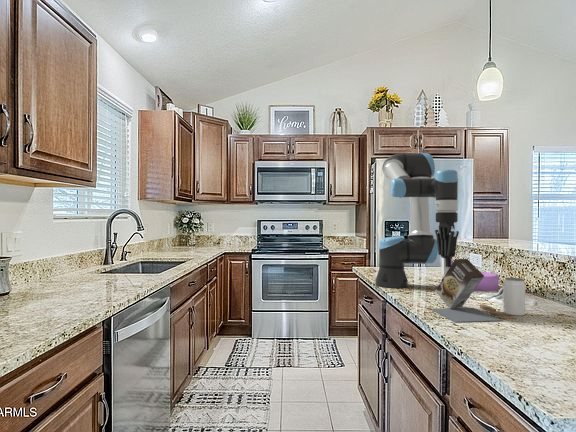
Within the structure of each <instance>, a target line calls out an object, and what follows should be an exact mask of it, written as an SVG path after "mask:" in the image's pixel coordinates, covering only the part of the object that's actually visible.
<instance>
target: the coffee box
mask: <svg viewBox="0 0 576 432" xmlns="http://www.w3.org/2000/svg"><path fill="white" fill-rule="evenodd" d="M481 272H482V271H480V270H479V269H478V268H477V267H476V266H475V265H474V264H473V262H471V261H470V260H469V259H468V258H459V259H458V258H455V259H453V263H452V265H451V266H450V268H449V270H448V271H447V273H446V274H445V276H444V275H443V277H444V278H443V277H442V278H443V279H442V278H441V281H440V282H439V284H438V286H437V287H436V288H435V290H434V292H435V293H436V294H437V295H438V296H439V298H440V299H441V300H442V301H443V303H444V304H445V305H446V306H447V308H449V309H453V308H464V305H465V304H466V302H467V300H468V299H469V298H470V296H471V295H472V294H473V293H474V291H476V290H475V288H476V287H477V285H478V284H479V283H480V281H481V280H482V278H483V277H484V275H483V274H482V273H481Z"/></svg>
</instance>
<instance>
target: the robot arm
mask: <svg viewBox="0 0 576 432" xmlns="http://www.w3.org/2000/svg"><path fill="white" fill-rule="evenodd" d="M435 169H436V165H435V161H434V158H433V156H432V154H430V153H423V152H418V153H417V152H414V153H413V152H410V153H396V154H392V155H391V156H389V157H387V159H385V161H384V162H383V165H382V173H383V175H384V176H385V177H386V178H388V179H389V181H390V195H391V196H392V197H393V198H401V199H402V198H409V206H410V207H409V209H410V210H409V211H410V212H409V213H410V215H409V216H410V233H409V234H408V235H407V238H405V236H403V235H399V236H398V235H397V236H386V237H383V238H381V239H379V242H378V244H379V245H378V250H379V252H378V262H379V264H378V271H377V273H376V274H377V275H376V277H375V283H374V284H375V286H377V287H382V288H387V289H388V288H389V289H390V288H391V289H398V288H399V289H402V288H408V287H409V281H408V278H407V274H406V272H405V264H408V265H409V264H410V265H411V264H413V265H415V264H419V265H421V264H422V265H425V264H427V265H428V264H434V262H436V259H437V257H438V256H440V257H441V276H443V277H444V276H445V274H446V273H447V271H448V270H449V268H450V266H451V259H453V258H455V257H456V251H457V242H458V237H459V233H460V232H459V230H456V229H455V223H458V209H459V208H458V207H459V205H458V204H459V203H458V202H459V201H458V193H459V192H458V189H459V187H458V186H459V183H458V181H459V179H458V172H457V170H455V169H440V170H437V171H436V170H435ZM434 176H435V177H434ZM432 177H434V178H432ZM429 198H434V199H435V203H434V204H435V211H436V213H435V222H436V223H439V224H438V229H435V230H434V232H435V236H436V239H435V238H434V237H435V236H434V234H433V233H432V232H431V229H430V228H431V225H430V223H431V221H430V206H429V205H430V204H429Z"/></svg>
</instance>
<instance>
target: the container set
mask: <svg viewBox="0 0 576 432" xmlns="http://www.w3.org/2000/svg"><path fill="white" fill-rule="evenodd" d="M453 262H454V259H453V258H451V265H452V263H453ZM480 272H481V273H482V274H483V275H484V277H483V278H482V280H481V281H480V283H479V284H478V285H477V287H476V288H475V290H474V291H483V292H486V291H487V292H488V291H489V292H491V291H499V290H500V288H499V286H500V285H499V284H500V283H499V282H500V281H499V277H500V276H499V274H498V273H494V272H488V271H480ZM443 278H444V276H442V277H441V280H442V279H443Z"/></svg>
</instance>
